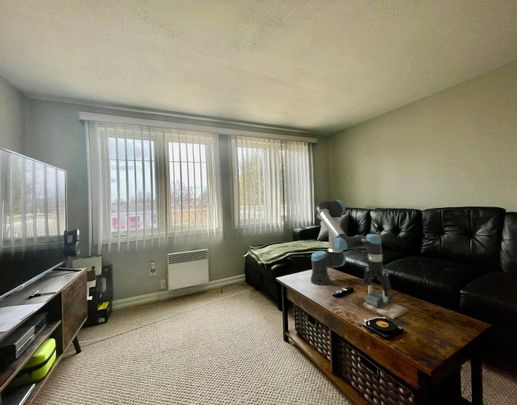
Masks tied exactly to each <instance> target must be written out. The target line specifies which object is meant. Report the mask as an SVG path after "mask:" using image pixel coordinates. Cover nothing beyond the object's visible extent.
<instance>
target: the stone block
mask: <svg viewBox="0 0 517 405" xmlns="http://www.w3.org/2000/svg"><path fill="white" fill-rule="evenodd" d="M383 290H384V289H380V290H376V291H374V292H373V291H372V293H370V294H368V293H367V294H366V295H364V300H365V302H366V303H368V304H370V305H372V306H374V307H376V308H379V307H382V306H384V305H386V304H389V303H394V294H393V293H391V292H390V291H388V297H387V302H383Z"/></svg>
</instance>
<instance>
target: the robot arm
mask: <svg viewBox="0 0 517 405" xmlns="http://www.w3.org/2000/svg"><path fill="white" fill-rule="evenodd" d="M345 212H346V206H345V204H344V202H343V201H342V200H340V199H330V200H321V201H319V202H318V203H317V204H316V205H315V207H314V213H315V216H316V217H317V219H319V220H321V223H323V225H324V227H325V228H326V229H327V231H328V248H327V250H326V251H323V250H319V251H318V250H317V251H315V252H313V253H312V254H311V258H310V259H311V268H312V270H311V271H312V272H311V276H310V283H312V282H313V283H315V284H314V285H317V284H320V285H319V286H326V284H327V285H329V283H330V284H331V277H330V275H329V272H328V269H329V268H340V267H343V266H344V265H345V264H346V262H347V256H346V254H345V252H344V250H353V249H366V250H367V251H366V252H367V260H368V261H367V264H368V265H367V266H368V267H367V266H366V267H364V268H363V270H364V274H363V275H364V276H363V284H366V290H367V291H368V292H367V295H368V294H370V293H373V285H372V282H373V279H374V277H375V278H377V279H378V280H379V283H380V285H381V287H382V290H383V302H387V297H388V292H390V291H392V285H391V281H390V277H389V275H390V274H389V272H388V271H387V272H386V271H384V269H383V267H384V266H383V265H384V263H383V251H382V249H383V248H382V239H381V238H382V237H381V235H380V234H375V233H368V234H366V235H362V234H360V235H359V234H356V235H355V236H347V235H346V233H345V232H344V230H343V229H342V228H341V219H342V217H343V215H344V214H345ZM313 283H312V284H313Z"/></svg>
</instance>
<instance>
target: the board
mask: <svg viewBox="0 0 517 405" xmlns="http://www.w3.org/2000/svg"><path fill="white" fill-rule="evenodd" d="M362 304H363V307H365V308H367V309H370V310H372V311H375V312H377V313H379V314H380V315H383V316H386V317H388V318H390V319H391V320H393V319H395V318H398V317H400V316H401V315H404V314H405V313H407V312H409V310H408V308H407V307H404V306H403V305H399V304H397V303H394V302H391V303H389V304H386V305H384V306H382V307H379V308H376V307H374V306H372V305H370V304H368V303H366V301H365V302H363V303H362Z"/></svg>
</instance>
